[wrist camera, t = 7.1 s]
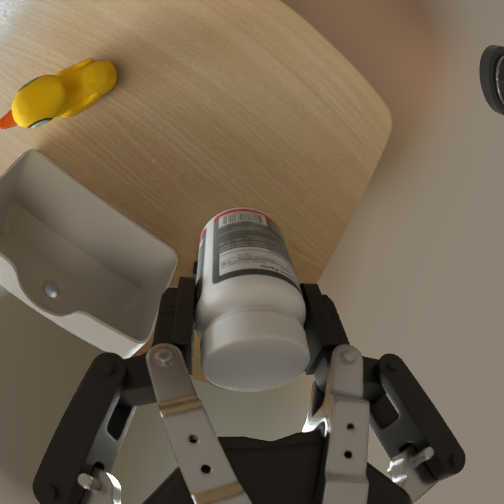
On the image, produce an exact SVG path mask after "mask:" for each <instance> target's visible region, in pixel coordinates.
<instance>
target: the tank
mask: <svg viewBox="0 0 504 504" xmlns="http://www.w3.org/2000/svg"><path fill="white" fill-rule="evenodd" d="M177 264H178V255H177V253H176V251H175V250H174V249H173V248H172V247H170V246H169V245H167V244H166V243H165V242H163V241H162V240H160V239H159V238H157V237H156V236H154V235H153V234H151V233H150V232H149V231H147V230H146V229H144V228H143V227H141V226H140V225H138V224H137V223H136V222H134V221H133V220H131V219H130V218H128V217H127V216H126V215H124V214H123V213H121V212H120V211H119V210H117V209H116V208H114V207H113V206H112V205H110V204H109V203H107V202H106V201H105V200H103V199H102V198H101V197H99V196H98V195H96V194H95V193H94V192H92V191H91V190H90V189H88V188H87V187H86V186H84V185H83V184H82V183H80V182H79V181H78V180H76V179H75V178H74V177H72V176H71V175H70V174H68V173H67V172H66V171H64V170H63V169H62V168H60V167H59V166H58V165H56V164H55V163H54V162H53V161H51V160H50V159H49V158H47V157H46V156H45V155H44V154H42V153H41V152H40V151H38V150H35V149H31V150H28V151H26V152H24V153H23V154H22V155H21V156H20V157H19V158H18V159H17V160H16V161H15V162H14V163H13V164H12V165H11V166H10V167H9V168H8V169H7V170H6V171H5V172H4V174H3V175H2V176H1V177H0V285H2V286H3V287H5V288H6V289H7V290H8V291H10V292H11V293H12V294H14V295H15V296H16V297H18V298H19V299H20V300H22V301H23V302H25V303H26V304H28V305H29V306H30V307H32V308H33V309H35V310H36V311H38V312H39V313H41V314H42V315H44V316H45V317H47V318H48V319H50V320H51V321H53V322H55V323H56V324H58V325H59V326H61V327H63V328H64V329H66V330H68V331H69V332H71V333H73V334H75V335H76V336H78V337H80V338H82V339H83V340H85V341H87V342H89V343H91V344H92V345H94V346H96V347H98V348H100V349H102V350H104V351H106V352H112V353H116V354H118V355H120V356H121V357H122V358H123V359H126V358H129V357H130V356H132V355H133V354H134V353H135V352H136V351H137V350H138V349H139V348H141V347H142V346H143V345H144V344H145V343H146V342H147V341H148V340H149V339H150V338H151V336H152V333H153V330H154V327H155V324H156V321H157V316H158V310H159V306H160V300H161V295H162V294H163V293H164V292H165V290H166V289H167V288H169V285H170V282H171V280H172V277H173V274H174V272H175V269H176V267H177Z"/></svg>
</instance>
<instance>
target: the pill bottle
mask: <svg viewBox="0 0 504 504" xmlns="http://www.w3.org/2000/svg"><path fill="white" fill-rule="evenodd" d="M305 320H306V308H305V303H304V300H303V295H302V292H301V289H300V286H299V283H298V280H297V277H296V275H295V272H294V269H293V266H292V263H291V260H290V257H289V254H288V251H287V248H286V245H285V242H284V239H283V235H282V233H281V231H280V229H279V227H278V225H277V224H276V222H275V221H274V220H273V219H272V218H271V217H270V216H269V215H267V214H266V213H264V212H262V211H260V210H257V209H254V208H248V207H238V208H232V209H228V210H225V211H223V212H221V213H219V214H218V215H216V216H215V217H213V218H212V219H211V220H210V221H209V222H208V223H207V224H206V226H205V227H204V229H203V232H202V234H201V238H200V244H199V254H198V266H197V278H196V291H195V304H194V324H195V328H196V331H197V333H198V335H199V337H200V338H201V342H200V349H201V369H202V373H203V375H204V376H205V377H206V379H208V380H209V381H210V382H211V383H213V384H215V385H217V386H219V387H222V388H225V389H229V390H234V391H247V392H248V391H262V390H268V389H272V388H276V387H279V386H282V385H284V384H287V383H289V382H291V381H292V380H294V379H296V378H297V377H298V376H300V375H301V374H302V373H303V372H304V371H305V370H306V368H307V366H308V365H309V361H310V353H309V349H308V344H307V340H306V334H305V330H304V328H303V327H304V324H305Z"/></svg>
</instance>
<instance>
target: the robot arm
mask: <svg viewBox="0 0 504 504" xmlns="http://www.w3.org/2000/svg"><path fill="white" fill-rule="evenodd" d="M494 86H495V90H496V94H497V96H498V99H499V101H500V102H501V104H502V105H503V106H504V54H502V55H500V56H499V57H498V58H497V60H496V62H495V66H494ZM300 289H301V292H302V295H303V300H304V303H305V308H306V320H305V324H304V327H303V328H304V330H305V334H306V340H307V344H308V349H309V353H310V361H309V365H308V366H307V368H306V370H305V373H306V375H310V374H311V375H312V374H314V376H315V381H314V382H313V385H312V392H311V399H310V406H309V412H308V418H307V422H306V424H305V426H304V428H303V431H302V432H301V433H295V434H293V435H290V436H287V437H284V438H281V439H278V440H275V441H264V440H258V439H253V438H248V437H217V436H216V434H215V431H214V429H213V427H212V424H211V422H210V420H209V417H208V415H207V413H206V410H205V408H204V405H203V403H202V402H201V400H200V399H199V398H198V396H197V394H196V392H195V389H194V386H193V384H192V381H191V378H190V376H189V375H192V366H193V342H194V304H195V291H196V278H191V277H180V278H179V285H178V288H167V289H166V290H165V292H164V293H163V294H162V295H161V300H160V306H159V310H158V316H157V321H156V327H155V333H154V339H153V344H152V346H151V348H150V349H149V350H148V351H147V352H146V353H144V354H143V355H140V356H137V357H132V358H126V359H123V358H122V357H121V356H120V355H118V354H116V353H112V352H106V353H102V354H100V355H98V356H97V357H96V358H95V359H94V360H93V362H92V364H91V366H90V367H89V369H88V371H87V372H86V374H85V376H84V378H83V380H82V381H81V384H80V385H79V387H78V389H77V391H76V393H75V394H74V396H73V398H72V400H71V402H70V404H69V406H68V408H67V409H66V411H65V413H64V416H63V417H62V419H61V421H60V423H59V425H58V427H57V429H56V431H55V434H54V436H53V438H52V440H51V442H50V444H49V446H48V449H47V451H46V453H45V455H44V457H43V460H42V462H41V464H40V467H39V469H38V472H37V474H36V476H35V479H34V481H33V491H34V495H35V497H36V499H37V500H38V501H39V502H40V504H121V501H120V495H121V487H120V485H119V483H118V481H117V480H116V479H115V478H114V477H113V476H112V475H110V472H111V470H112V467H113V465H114V462H115V460H116V457H117V455H118V452H119V449H120V447H121V444H122V442H123V440H124V437H125V435H126V432H127V430H128V427H129V424H130V422H131V420H132V418H133V415H134V413H135V411H136V408H137V406H140V405H145V404H150V403H155V402H157V403H158V407H159V411H160V414H161V417H162V420H163V423H164V426H165V429H166V432H167V435H168V438H169V441H170V444H171V447H172V449H173V452H174V455H175V458H176V460H177V462H178V466H177V467H176V469H175V470H174V471H173V472H172V473H171V474H170V475H169V476H168V477H167V478H166V479H165V481H164V482H163V483H162V484H161V485H160V486H159V487H158V488H157V489H156V490H155V491H154V492H153V493H152V494H151V495H150V496H149V498H147V499H146V500H145V501H144V502H143V503H142V504H413V503H414V502H415V501H417V500H418V499H419V498H420V497H421V496H422V495H424V494H425V493H426V492H427V491H428V490H430V489H431V488H432V487H433V486H434V485H435V484H436V483H437V482H438V481H441V480H443V479H445V478H448V477H450V476H452V475H455V474H457V473H459V472H460V471H461V470H462V469H463V467H464V464H465V453H464V451H463V449H462V448H461V446H460V445H459V443H458V441H457V440H456V438H455V437H454V435H453V434H452V432H451V430H450V429H449V427H448V426H447V424H446V423H445V421H444V420H443V418H442V417H441V415H440V414H439V412H438V411H437V409H436V408H435V406H434V405H433V403H432V402H431V400H430V399H429V397H428V396H427V394H426V393H425V392H424V391H423V389H422V387H421V386H420V384H419V383H418V382H417V380H416V379H415V377H414V376H413V375H412V373H411V372H410V370H409V369H408V367H407V366H406V365H405V363H404V362H403V361H402V359H401V358H399V357H398V356H397V355H394V354H385V355H383V356H382V357H381V358H380V359H379V360H377V359H373V358H368V357H364V356H362V355H361V353H360V351H359V350H358V349H357V348H355V347H353V346H351V345H350V344H349V341H348V338H347V336H346V333H345V331H344V328H343V325H342V323H341V320H340V319H339V315H338V313H337V310H336V308H335V305H334V303H333V301H332V300H331V299H330V298H329V297H328V296H327V295H322V294H321V292H320V290H319V287H318V285H317V284H307V283H301V284H300ZM386 393H387V394H388V395H389V397H390V399H391V400H392V402H393V403H394V405H395V406H396V408H397V409H398V411H399V414H398V413H397V411H396V410H395V408H394V406H393V405H392V403H391V402H390V400H389V399H388V397H387V396H386ZM369 424H370V425H371V427H372V429H373V430H374V432H375V434H376V435H377V437H378V439H379V440H380V442H381V444H382V446H383V447H384V449H385V450H386V452H387V454H388V456H389V457H390V459H391V463H390V467H389V468H388V473H389V474H390V475H391V476H393V481H392V480H390V479H389V478H388V477H386V476H385V475H384V474H382V473H381V472H380V471H378V470H377V469H376V468H375V467H373V466H372V465H371V464H369V463H368V462H367V453H368V438H369Z"/></svg>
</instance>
